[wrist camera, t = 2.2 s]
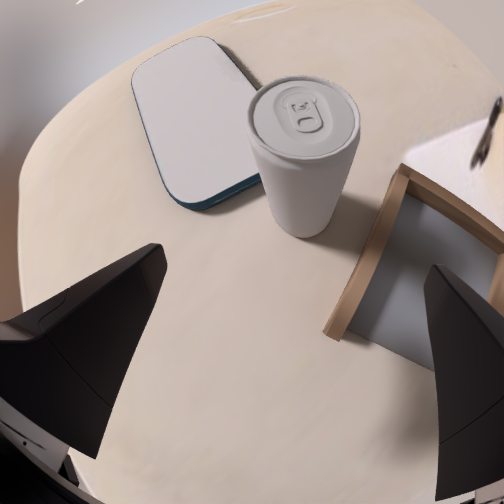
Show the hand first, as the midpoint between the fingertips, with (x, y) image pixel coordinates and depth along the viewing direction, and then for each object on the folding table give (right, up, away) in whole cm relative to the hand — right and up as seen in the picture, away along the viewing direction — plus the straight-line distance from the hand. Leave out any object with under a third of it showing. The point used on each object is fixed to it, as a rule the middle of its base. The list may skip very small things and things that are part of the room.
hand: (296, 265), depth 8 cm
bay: (+13, -2, +10) cm, 17 cm away
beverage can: (+3, +4, +13) cm, 14 cm away
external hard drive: (-7, +15, +17) cm, 24 cm away
